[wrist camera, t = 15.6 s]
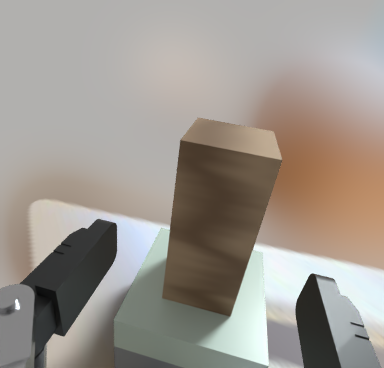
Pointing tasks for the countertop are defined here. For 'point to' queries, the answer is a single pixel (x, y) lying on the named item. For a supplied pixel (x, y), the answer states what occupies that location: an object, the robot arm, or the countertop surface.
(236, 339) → the pale green grey block
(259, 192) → the walnut block
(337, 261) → the countertop surface
